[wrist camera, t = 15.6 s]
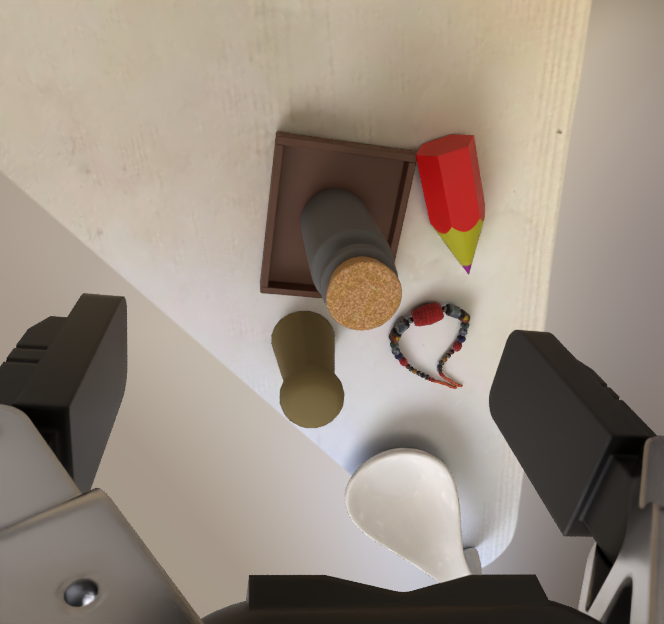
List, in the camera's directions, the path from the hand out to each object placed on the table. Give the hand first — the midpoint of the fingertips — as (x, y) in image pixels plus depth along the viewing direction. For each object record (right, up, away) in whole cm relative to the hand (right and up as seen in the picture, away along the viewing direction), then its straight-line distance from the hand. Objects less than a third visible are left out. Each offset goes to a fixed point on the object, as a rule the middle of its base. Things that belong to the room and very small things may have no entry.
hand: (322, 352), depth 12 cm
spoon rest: (+10, -21, +54) cm, 58 cm away
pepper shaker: (-3, -2, +42) cm, 42 cm away
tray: (0, +9, +36) cm, 37 cm away
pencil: (+10, +10, +37) cm, 40 cm away
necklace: (+10, -3, +44) cm, 45 cm away
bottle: (0, +9, +36) cm, 37 cm away
